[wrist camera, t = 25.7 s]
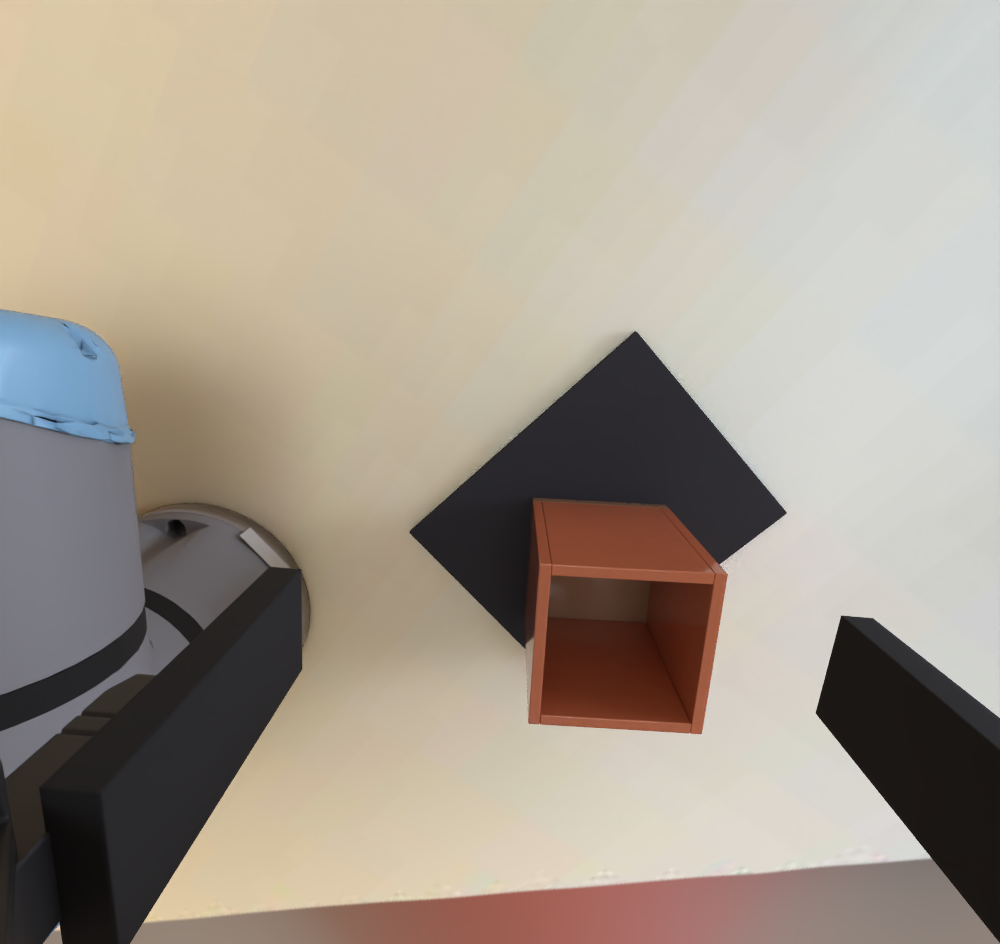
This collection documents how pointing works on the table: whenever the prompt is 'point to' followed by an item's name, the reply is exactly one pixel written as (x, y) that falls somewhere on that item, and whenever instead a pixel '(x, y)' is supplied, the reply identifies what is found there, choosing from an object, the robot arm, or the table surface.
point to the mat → (597, 478)
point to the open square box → (619, 617)
